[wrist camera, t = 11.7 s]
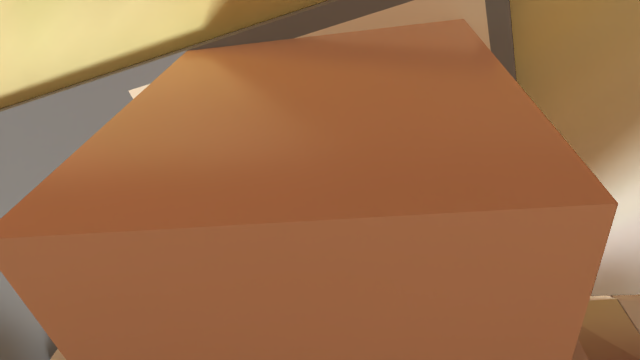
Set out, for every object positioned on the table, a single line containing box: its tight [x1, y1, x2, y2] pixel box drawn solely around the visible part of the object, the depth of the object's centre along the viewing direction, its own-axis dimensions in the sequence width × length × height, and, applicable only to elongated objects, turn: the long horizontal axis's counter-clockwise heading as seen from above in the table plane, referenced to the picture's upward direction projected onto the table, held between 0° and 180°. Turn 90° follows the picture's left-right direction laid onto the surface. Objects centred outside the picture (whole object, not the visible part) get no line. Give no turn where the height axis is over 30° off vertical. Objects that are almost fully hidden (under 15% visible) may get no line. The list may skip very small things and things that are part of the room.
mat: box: [0, 0, 516, 360], centre depth 17 cm, size 22×24×1 cm
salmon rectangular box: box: [0, 19, 618, 360], centre depth 10 cm, size 7×9×7 cm
